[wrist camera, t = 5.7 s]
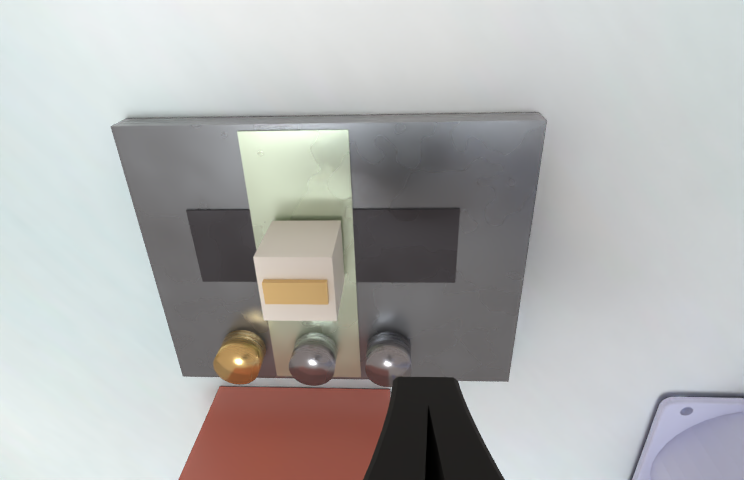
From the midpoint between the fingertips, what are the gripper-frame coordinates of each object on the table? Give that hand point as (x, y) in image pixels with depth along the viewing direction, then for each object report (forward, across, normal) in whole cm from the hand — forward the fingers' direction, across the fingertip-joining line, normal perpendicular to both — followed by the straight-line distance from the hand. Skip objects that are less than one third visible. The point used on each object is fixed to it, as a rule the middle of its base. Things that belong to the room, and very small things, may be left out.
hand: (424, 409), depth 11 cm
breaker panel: (+8, +3, +1) cm, 9 cm away
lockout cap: (+8, +5, +11) cm, 15 cm away
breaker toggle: (+7, +4, 0) cm, 8 cm away
